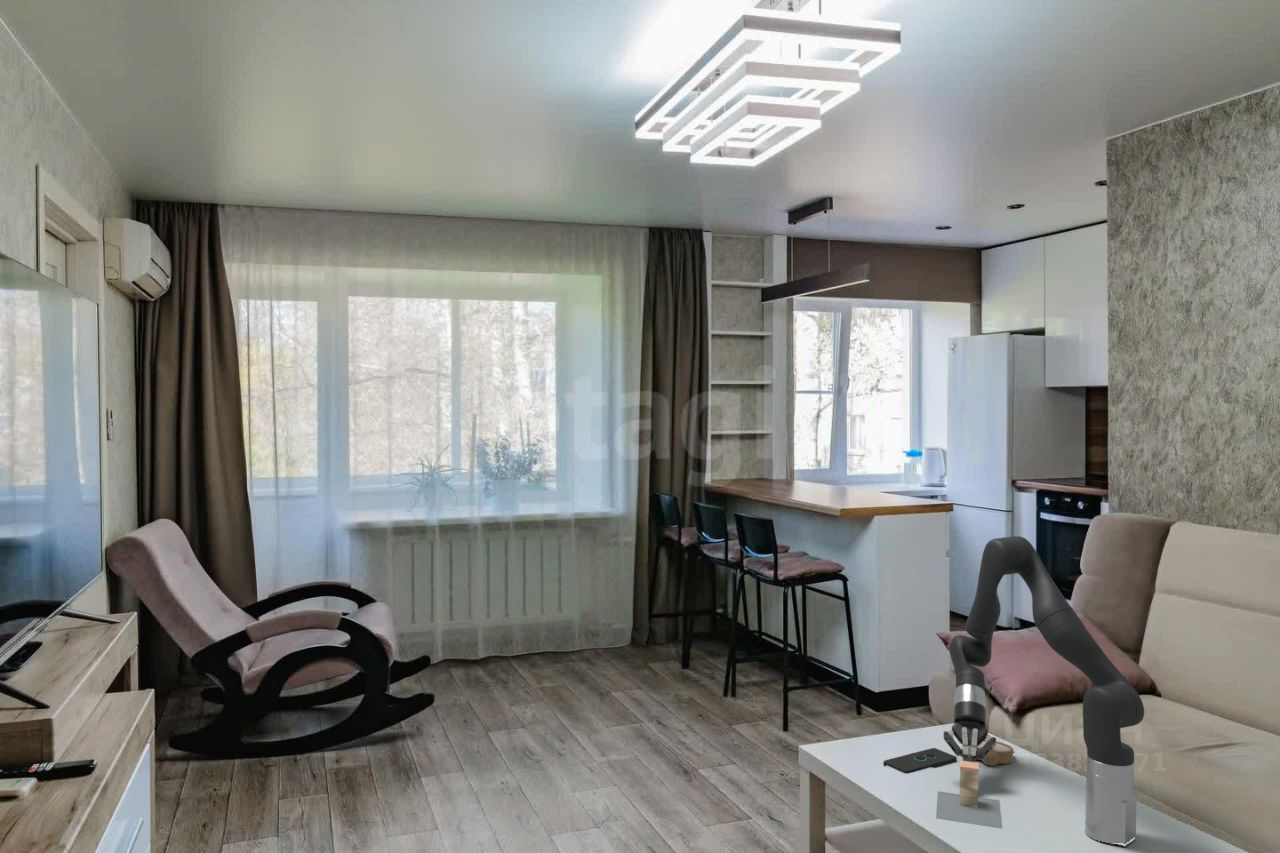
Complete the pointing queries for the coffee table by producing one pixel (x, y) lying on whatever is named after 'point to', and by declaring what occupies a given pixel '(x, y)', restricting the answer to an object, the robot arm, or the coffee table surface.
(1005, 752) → the alarm clock
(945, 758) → the smart home device
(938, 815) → the rubber mat
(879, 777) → the coffee table surface
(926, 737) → the coffee table surface
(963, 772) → the birch block
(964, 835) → the coffee table surface
